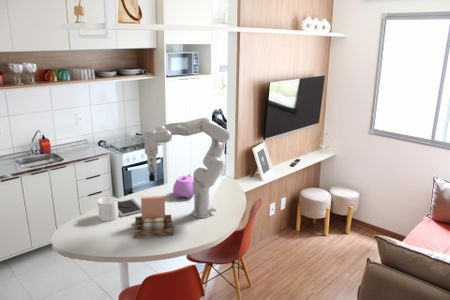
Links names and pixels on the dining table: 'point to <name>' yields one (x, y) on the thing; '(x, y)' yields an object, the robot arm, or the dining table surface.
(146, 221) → the birch offcut
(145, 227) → the grey offcut
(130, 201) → the picture frame
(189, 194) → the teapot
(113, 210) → the cup
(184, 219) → the dining table surface
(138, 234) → the offcut rack
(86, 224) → the dining table surface
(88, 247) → the dining table surface
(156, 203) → the plywood sheet
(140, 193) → the dining table surface
